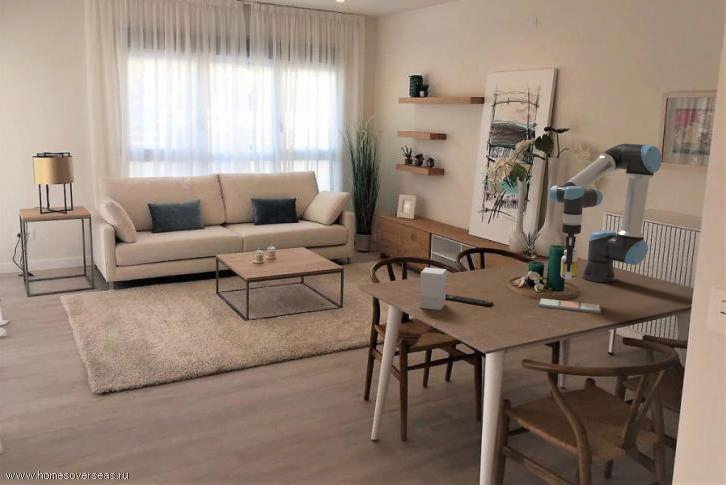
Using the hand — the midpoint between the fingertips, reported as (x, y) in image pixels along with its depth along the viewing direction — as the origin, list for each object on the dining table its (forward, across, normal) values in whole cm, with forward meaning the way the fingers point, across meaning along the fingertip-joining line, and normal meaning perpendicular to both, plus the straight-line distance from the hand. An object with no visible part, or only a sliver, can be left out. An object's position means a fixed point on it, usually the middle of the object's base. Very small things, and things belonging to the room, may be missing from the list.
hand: (568, 276), depth 272 cm
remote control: (+9, +21, -40) cm, 46 cm away
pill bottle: (0, 0, 0) cm, 0 cm away
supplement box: (+8, +33, -51) cm, 61 cm away
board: (+10, +12, +2) cm, 15 cm away
